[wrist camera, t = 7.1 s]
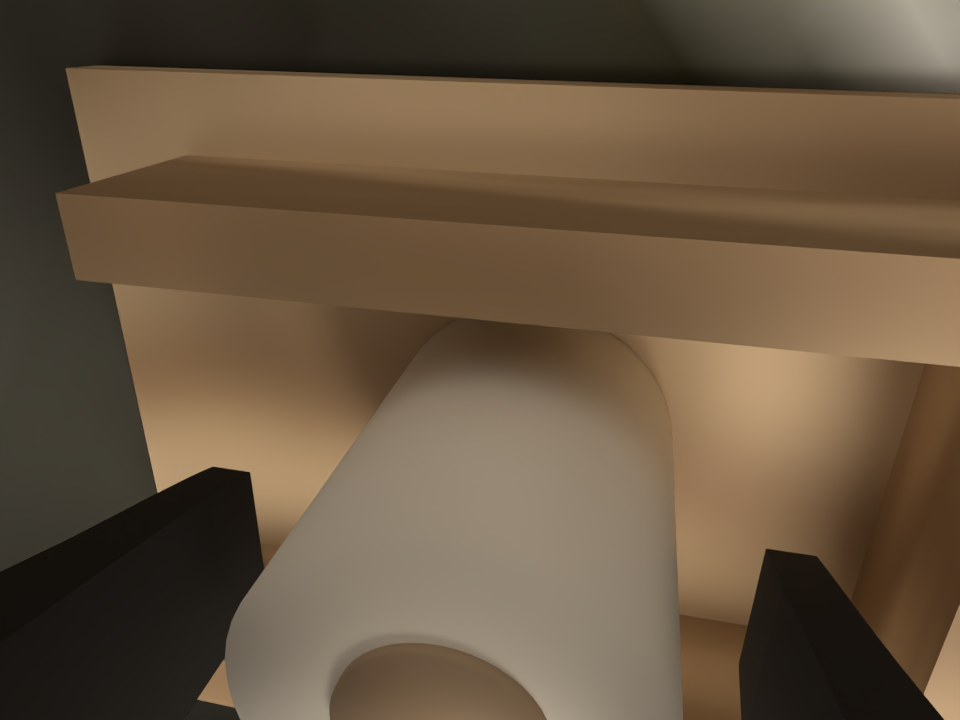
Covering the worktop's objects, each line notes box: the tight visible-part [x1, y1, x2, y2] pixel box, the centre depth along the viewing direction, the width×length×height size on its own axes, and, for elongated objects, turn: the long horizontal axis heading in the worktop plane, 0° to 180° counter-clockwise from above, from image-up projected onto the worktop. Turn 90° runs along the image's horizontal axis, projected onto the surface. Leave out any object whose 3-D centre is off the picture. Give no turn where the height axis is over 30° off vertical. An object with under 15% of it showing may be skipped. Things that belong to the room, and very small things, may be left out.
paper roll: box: [225, 318, 683, 720], centre depth 10 cm, size 5×5×6 cm
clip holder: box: [55, 65, 960, 720], centre depth 12 cm, size 12×16×4 cm
